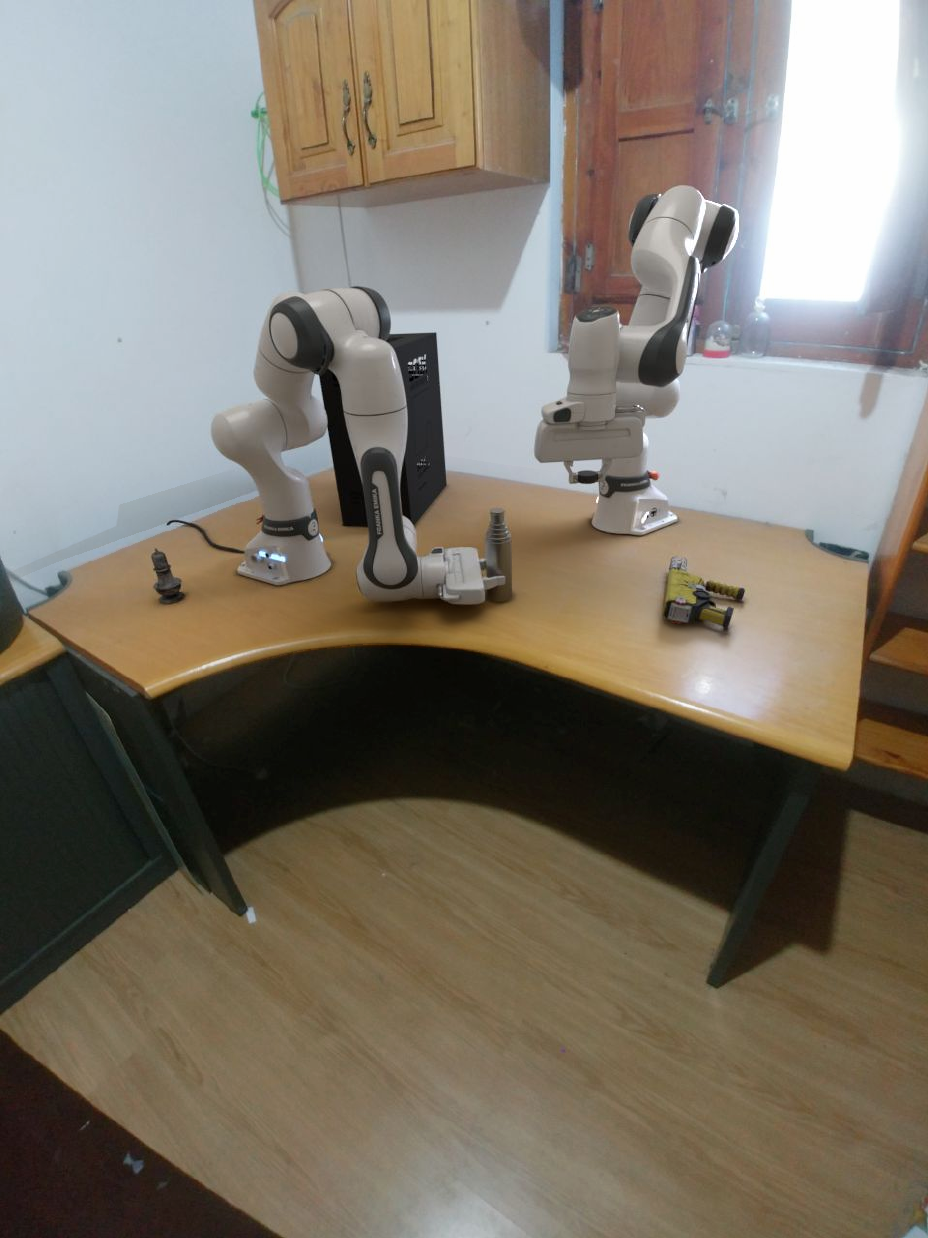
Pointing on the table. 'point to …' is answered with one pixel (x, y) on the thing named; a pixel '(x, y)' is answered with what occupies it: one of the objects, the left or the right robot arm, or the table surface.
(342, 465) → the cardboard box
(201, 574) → the table surface
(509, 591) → the bottle
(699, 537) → the table surface
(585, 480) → the cap
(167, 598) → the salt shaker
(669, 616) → the toy gun
